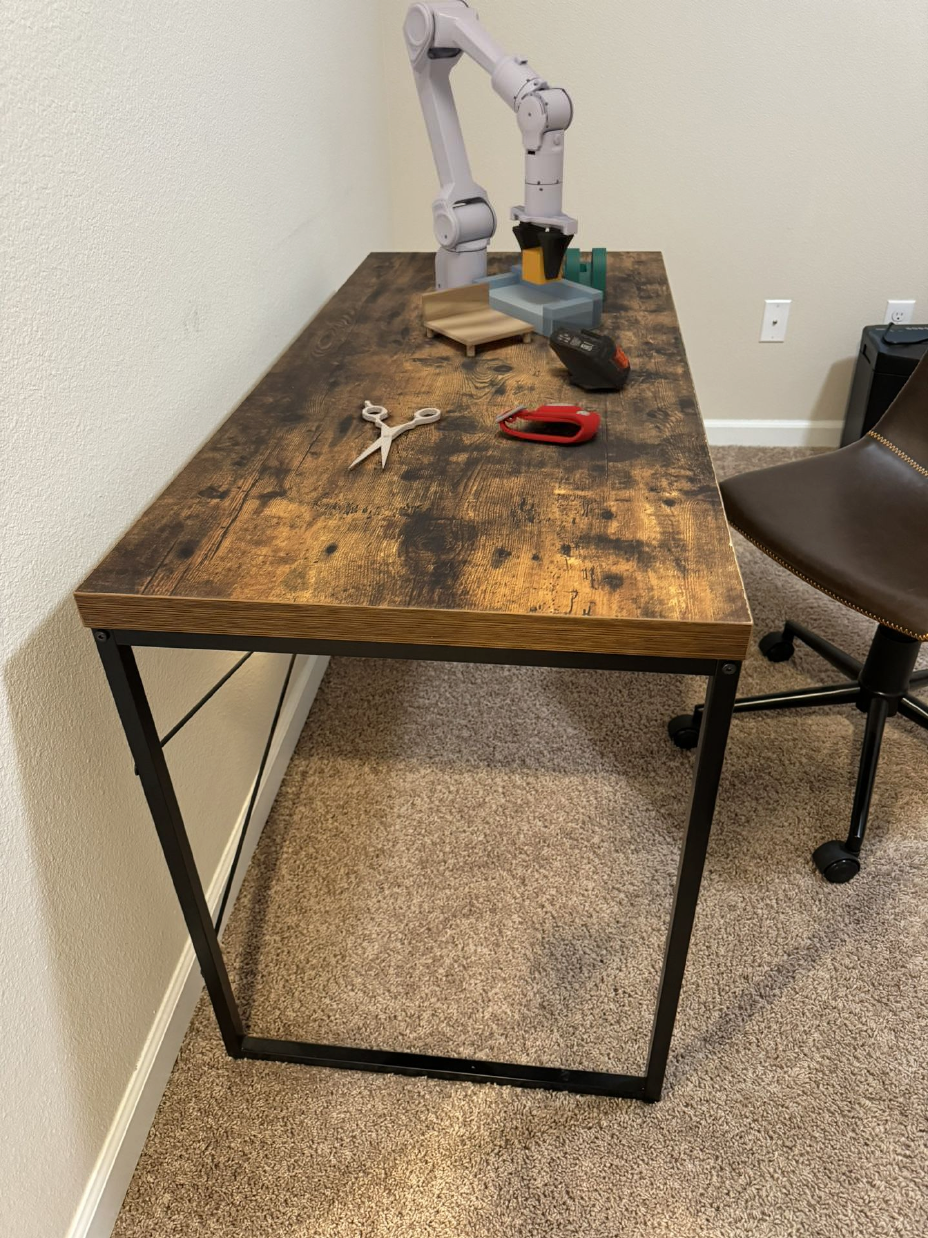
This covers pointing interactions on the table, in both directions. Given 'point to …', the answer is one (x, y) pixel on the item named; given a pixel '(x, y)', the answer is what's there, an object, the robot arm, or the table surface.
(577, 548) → the table surface
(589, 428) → the tracker holder
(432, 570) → the table surface
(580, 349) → the battery
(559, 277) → the block
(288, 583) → the table surface
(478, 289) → the low wooden bench
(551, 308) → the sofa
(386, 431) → the scissors
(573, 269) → the bracket
